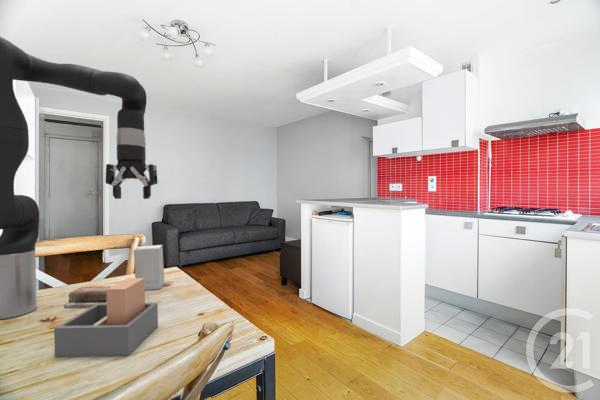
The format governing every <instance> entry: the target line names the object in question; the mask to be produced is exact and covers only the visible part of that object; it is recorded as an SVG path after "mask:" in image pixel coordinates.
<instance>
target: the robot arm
mask: <svg viewBox="0 0 600 400" xmlns="http://www.w3.org/2000/svg"><path fill="white" fill-rule="evenodd" d="M14 81H21V82H32V83H33V82H34V83H42V84H48V85H50V84H51V85H56V86H58V87H59V86H60V87H65V88H68V89H72V90H77V91H81V92H85V93H88V94H93V95H97V96H107V95H110V96H113V97H118V98H120V99H121V109H120V110H118V111H117V116H116V117H117V119H116V121H117V122H116V124H117V126H116V127H117V129H116V130H117V131H116V160H117V163H116V164H111V163H110V164H109V163H106V165H105V166H106V167H105V184H106V185H109V186H111V187H112V196H113V198H114V199H116V200H117V199H122V186H121V185H122V184H123V182H125V181H126V180H130V179H133V180H139V181H140V182H141V184H143V187H142V192H143V193H142V196H143V197H142V198H143V199H144V200H146V199H147V200H149V199H150V198H151V196H152V192H151V191H152V186H154V185H157V184H158V173H157V171H158V170H157V165H155V164H151V163H150V164H146V159H147V157H146V146H147V145H146V144H147V143H146V137H145V119H144V118H145V113H146V108H147V107H146V106H147V93H146V90H145V88H144V86H143V85H142V84H141V83H140V82H139V81H138V79H136V78H135V77H134V76H132V75H129V74H126V73H124V72H123V73H122V72H118V71H117V72H116V71H103V70H100V69H96V68H93V67H88V66H85V65H81V64H75V63H59V62H58V63H56V62H52V61H51V62H50V61H46V60H43V59H41V58H38V57H36V56H33V55H31V54H29V53H26V52H25V51H24V50H23V49H22V48H20V47H19V46H17V45H15V44H14V43H12V42H11V41H9V40H7V39H6V38H4V37H2V36H0V230H2V231H1V234H0V320H2V319H3V320H4V319H9V318H10V319H11V318H15V317H19V316H24V315H25V314H29V313H31V312H33V311H35V310H37V267H36V266H37V263H36V244H37V241H38V240H39V233H40V232H39V230H40V210H39V205H38V204H37V202H36V200H35V199H34V198H32V197H30V196H29V195H28V196H27V195H23V194H15V177H16V174H17V172H18V170H19V168H20V167H21V165H22V163H23V162H24V160H25V158H26V157H27V154H28V152H29V146H30V145H29V144H30V138H29V137H30V135H29V125H28V122H27V120H26V117H25V114H24V113H23V110H22V109H21V106H20V104H19V102H18V100H17V97H16V95H15V90H14ZM117 171H118V172H117ZM146 171H147V172H148V176H147V175H146V174H145V172H146ZM116 172H117V174H116Z"/></svg>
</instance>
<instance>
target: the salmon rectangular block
mask: <svg viewBox="0 0 600 400" xmlns="http://www.w3.org/2000/svg"><path fill="white" fill-rule="evenodd" d="M106 292H107V325H127V324H128V323H129V322H130V321H132V320H133V319H134V318H135V317H137V316H138V315H139V314H140V313H142V312H143V311H144V310H145V303H146V290H145V278H135V277H130V278H126V279H124V280H122V281H120V282H118V283H116V284H114V285H112V287H110V288H108V289H106Z"/></svg>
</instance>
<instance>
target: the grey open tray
mask: <svg viewBox="0 0 600 400" xmlns="http://www.w3.org/2000/svg"><path fill="white" fill-rule="evenodd" d="M158 304H159V303H158V302H145V310H144V311H143V312H142V313H140V314H139V315H138V316H137V317H135V318H134V319H133V320H132V321H130V322H129V323H128V324H127V325H107V303H97V304H96V305H94V306H92V307H90V308H86V309H85V310H84V311H82V312H80V313H78V314H77V315H75V316H73V317H71V318H69V319H68V320H66V321H64V322H63V323H61V324H59V325H57V326H56V327H54V329H53V335H54V340H53V341H54V357H56V358H57V357H58V358H62V357H63V358H64V357H67V358H69V357H70V358H71V357H115V356H116V357H120V356H121V357H122V356H124V357H125V356H130V355H131V354H132V353H133V352H134V351H135V349H136V348H138V347H139V346H140V345H141V344H142V343H143V341H145V340H146V338H148V337H149V336H150V335H151V334H152V332H154V331H155V329H157V328H158V326H159V316H158V315H159V313H158V310H159V308H158V306H159V305H158Z"/></svg>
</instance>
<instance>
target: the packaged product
mask: <svg viewBox="0 0 600 400" xmlns="http://www.w3.org/2000/svg"><path fill="white" fill-rule="evenodd" d="M112 286H113V285H112ZM112 286H101V285H99V286H96V285H94V286H92V285H91V286H87V285H86V286H81V287H78V288H76V289H74V290H72V291H70V292H69V294H68V302H67V303H64V305H63V309H89V308H90V307H92V306H94V305H96V304H97V303H107V292H106V289H108V288H110V287H112Z"/></svg>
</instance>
